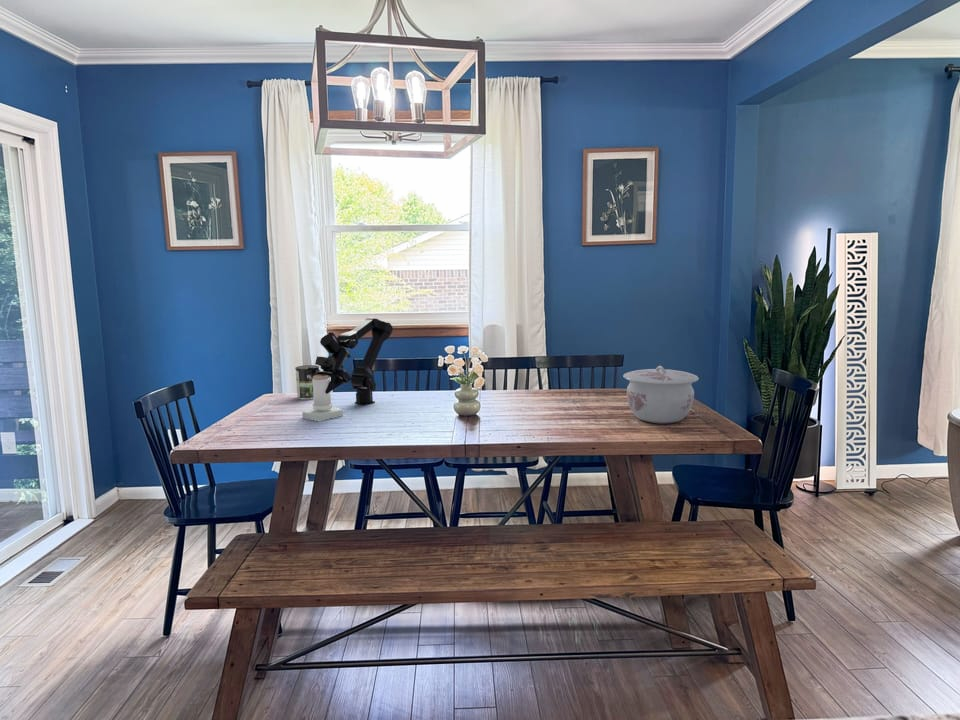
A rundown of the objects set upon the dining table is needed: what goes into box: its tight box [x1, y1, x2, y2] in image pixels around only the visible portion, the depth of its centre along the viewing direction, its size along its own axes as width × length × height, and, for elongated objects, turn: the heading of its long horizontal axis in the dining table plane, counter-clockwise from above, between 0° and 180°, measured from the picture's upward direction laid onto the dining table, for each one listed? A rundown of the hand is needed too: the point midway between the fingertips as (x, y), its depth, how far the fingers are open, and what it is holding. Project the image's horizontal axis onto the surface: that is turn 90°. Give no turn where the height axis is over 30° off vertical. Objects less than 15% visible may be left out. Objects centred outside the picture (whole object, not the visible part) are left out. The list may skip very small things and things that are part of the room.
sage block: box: [301, 406, 344, 422], centre depth 252 cm, size 12×10×2 cm
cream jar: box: [312, 374, 333, 410], centre depth 251 cm, size 7×7×13 cm
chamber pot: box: [622, 365, 699, 425], centre depth 239 cm, size 28×28×21 cm
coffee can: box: [294, 364, 320, 401], centre depth 288 cm, size 10×10×14 cm
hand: (319, 392), depth 249 cm, fingers closed on cream jar, 7 cm apart
